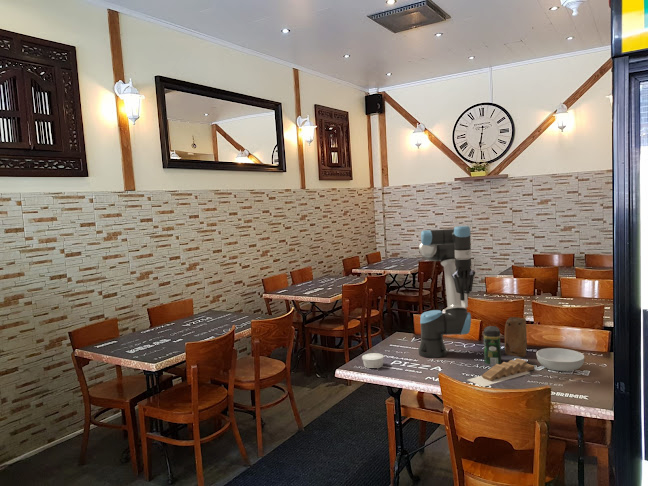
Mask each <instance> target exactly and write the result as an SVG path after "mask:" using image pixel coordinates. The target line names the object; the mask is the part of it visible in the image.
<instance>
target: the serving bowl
mask: <svg viewBox="0 0 648 486" xmlns="http://www.w3.org/2000/svg"><path fill="white" fill-rule="evenodd" d="M535 353H536V359H537V362H538V363H539V364H540V365H541V366H542V367H544V368H545V369H549V370H552V371H556V372H572V371H577V370H579V369H580V368H581V367H582V366H583V365H584V362H585V355H584V354H583V353H581V352H580V351H577V350H573V349H567V348H562V347H561V348H560V347H547V348H541V349H539V350H537V351H536V352H535Z"/></svg>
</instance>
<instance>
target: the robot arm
mask: <svg viewBox="0 0 648 486" xmlns="http://www.w3.org/2000/svg"><path fill="white" fill-rule="evenodd" d="M471 234H472V233H471V228H470V226H469V225H457V226H454V228H450V229H449V228H448V229H427V230H422V231H421V232H420V241H421V243H420V244H419V247H418V252H419V254H420V256H421V257H422V258H424V259H426V260H429V262H430V261H431V262H440V265H441V267H443V270H444V271H443V272H444V284H445V294H446V305H447V307H446V308H445V310H444V311H445V313H444V312H442V310H440V309H432V310H428V311H424V312H422V313H421V314H420V317H419V318H420V321H419V324H420V343H419V346H418V351H417V352H418V355H419V356H421V357H424V358H429V359H431V358H434V359H435V358H436V359H437V358H442V357H445V356H446V355H447V348H446V344H445V341H444V335H445V336H449V335H450V336H451V335H453V336H454V335H460V336H462V335H468V334H469V333H470V332H471V325H472V316H471V312H468V309H467V308H469V304H468V303H469V302H468V300H469V294H471V292H472V291H473V287H474V284H473V283H474V280H475V279H474V278H475V276H476V271H473V270H472V268H471V267H472V249H471V248H472V245H471V244H472V243H471V242H472V241H471V240H472V239H471Z"/></svg>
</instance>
